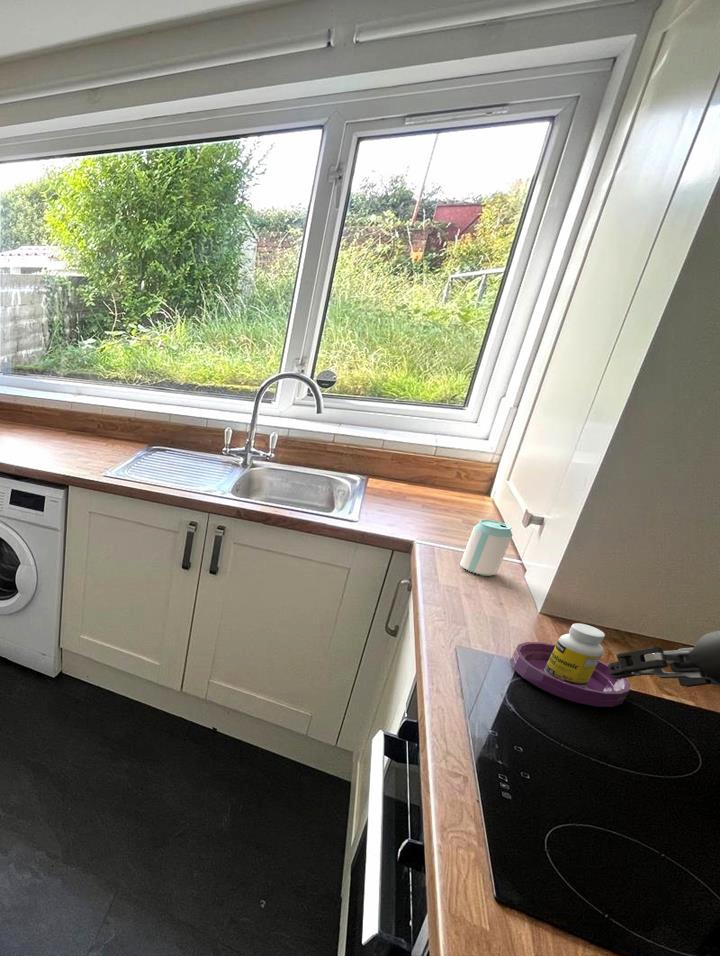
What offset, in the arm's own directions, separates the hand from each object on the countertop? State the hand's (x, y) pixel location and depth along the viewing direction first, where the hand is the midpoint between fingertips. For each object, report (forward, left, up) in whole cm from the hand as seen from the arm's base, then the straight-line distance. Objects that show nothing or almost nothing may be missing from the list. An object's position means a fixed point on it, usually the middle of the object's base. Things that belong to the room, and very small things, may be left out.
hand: (646, 675), depth 84 cm
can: (+43, -38, -10) cm, 58 cm away
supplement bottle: (+10, -6, -9) cm, 15 cm away
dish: (+10, -6, -10) cm, 15 cm away
